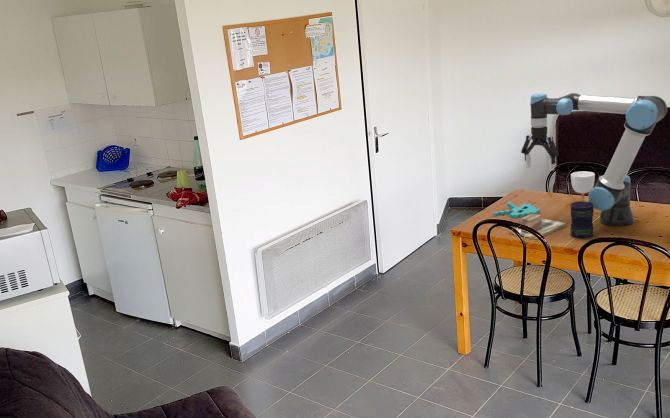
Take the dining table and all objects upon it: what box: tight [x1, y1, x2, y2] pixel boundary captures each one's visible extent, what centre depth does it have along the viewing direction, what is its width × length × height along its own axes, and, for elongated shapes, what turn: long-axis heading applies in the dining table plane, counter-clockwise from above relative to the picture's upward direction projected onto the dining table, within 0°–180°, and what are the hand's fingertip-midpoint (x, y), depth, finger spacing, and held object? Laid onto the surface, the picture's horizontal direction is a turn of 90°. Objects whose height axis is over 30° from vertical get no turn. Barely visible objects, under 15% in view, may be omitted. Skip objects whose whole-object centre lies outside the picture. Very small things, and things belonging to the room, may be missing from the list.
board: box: [508, 217, 567, 239], centre depth 319 cm, size 15×24×2 cm, turn 128°
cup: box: [570, 170, 596, 202], centre depth 345 cm, size 12×12×17 cm
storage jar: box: [570, 201, 594, 240], centre depth 304 cm, size 10×10×15 cm
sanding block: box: [520, 214, 542, 233], centre depth 315 cm, size 5×9×6 cm, turn 128°
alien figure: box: [492, 201, 541, 219], centre depth 348 cm, size 20×2×20 cm
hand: (540, 168), depth 325 cm, fingers open, 13 cm apart
